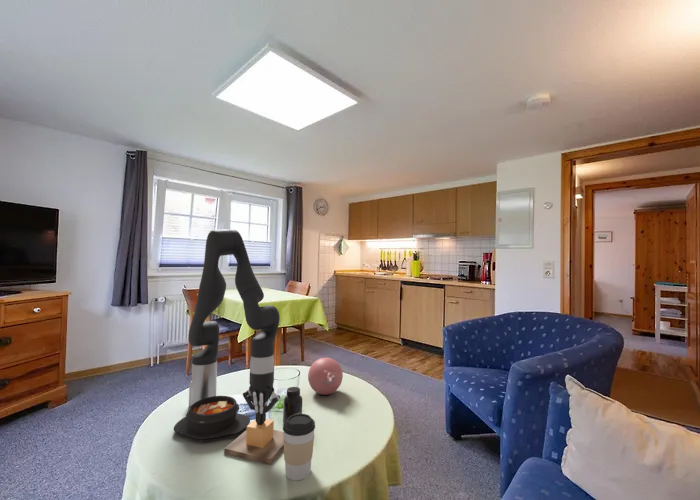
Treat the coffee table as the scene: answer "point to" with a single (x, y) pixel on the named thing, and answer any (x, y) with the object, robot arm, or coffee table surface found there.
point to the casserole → (212, 418)
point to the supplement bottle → (292, 403)
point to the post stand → (257, 448)
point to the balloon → (325, 376)
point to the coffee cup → (298, 445)
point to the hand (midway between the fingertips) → (260, 423)
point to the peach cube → (259, 433)
